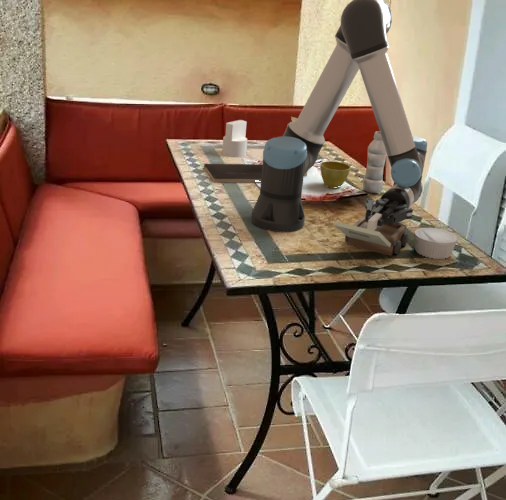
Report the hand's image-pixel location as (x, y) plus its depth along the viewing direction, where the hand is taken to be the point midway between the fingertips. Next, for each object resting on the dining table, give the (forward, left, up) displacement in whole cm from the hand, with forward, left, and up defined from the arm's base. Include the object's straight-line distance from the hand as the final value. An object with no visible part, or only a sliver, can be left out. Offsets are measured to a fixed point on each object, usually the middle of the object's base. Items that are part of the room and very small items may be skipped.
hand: (370, 226), depth 172 cm
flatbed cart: (+10, +13, -11) cm, 20 cm away
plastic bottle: (+30, +56, -11) cm, 64 cm away
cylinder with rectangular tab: (-4, +102, -11) cm, 102 cm away
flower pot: (+19, +63, -11) cm, 66 cm away
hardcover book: (-9, +75, -12) cm, 77 cm away
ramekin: (+23, +6, -11) cm, 27 cm away
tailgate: (+5, +8, -8) cm, 12 cm away
